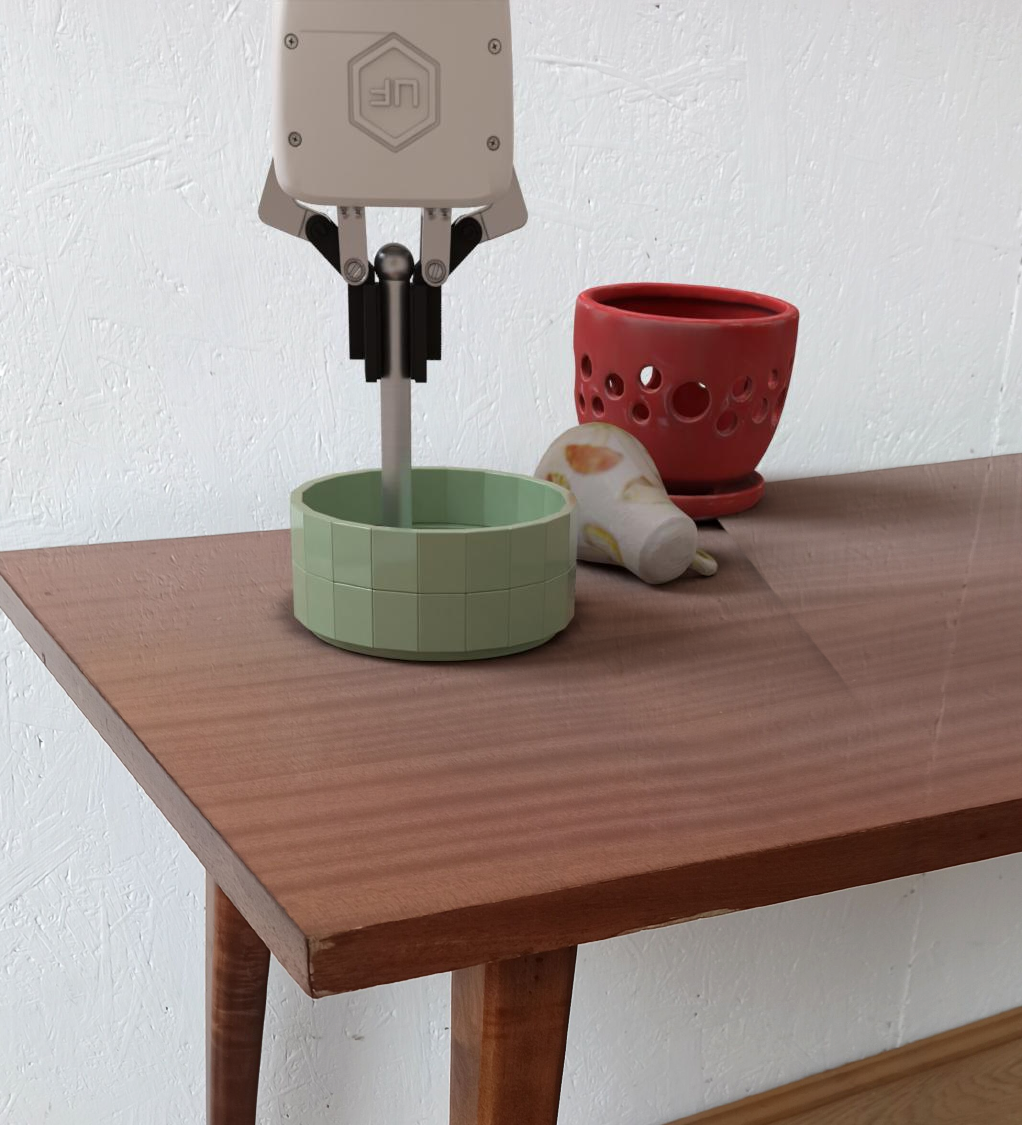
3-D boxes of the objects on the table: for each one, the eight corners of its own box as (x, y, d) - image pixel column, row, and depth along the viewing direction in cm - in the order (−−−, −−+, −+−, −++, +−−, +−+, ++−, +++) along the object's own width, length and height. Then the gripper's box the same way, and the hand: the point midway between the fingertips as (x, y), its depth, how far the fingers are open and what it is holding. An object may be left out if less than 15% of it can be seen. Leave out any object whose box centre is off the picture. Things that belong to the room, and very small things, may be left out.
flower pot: (537, 520, 105) (544, 301, 99) (603, 476, 116) (613, 275, 109) (752, 544, 101) (773, 317, 95) (799, 496, 112) (821, 290, 106)
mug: (640, 607, 90) (562, 418, 88) (563, 642, 99) (491, 471, 97) (755, 554, 93) (682, 368, 90) (670, 593, 102) (602, 425, 99)
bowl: (555, 584, 93) (559, 466, 90) (588, 664, 82) (594, 532, 78) (296, 585, 92) (291, 465, 89) (293, 666, 80) (287, 532, 77)
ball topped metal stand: (444, 589, 88) (445, 237, 80) (450, 617, 84) (451, 249, 76) (348, 589, 88) (338, 235, 80) (349, 617, 84) (339, 247, 75)
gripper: (187, -123, 67) (218, 391, 77) (593, -109, 68) (574, 394, 78) (199, -111, 73) (226, 363, 83) (570, -99, 75) (555, 365, 85)
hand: (395, 375), depth 81 cm, fingers closed on ball topped metal stand, 1 cm apart
